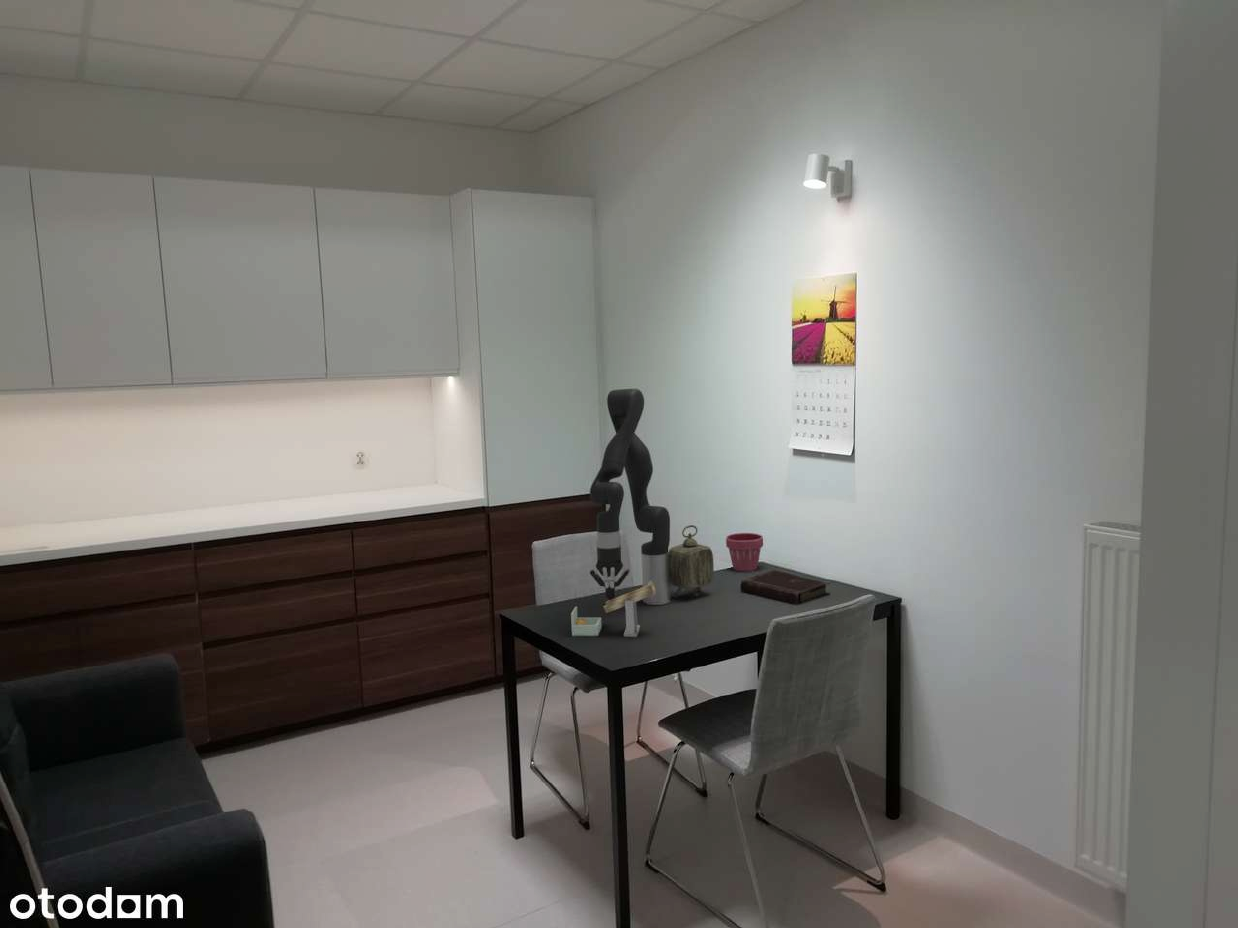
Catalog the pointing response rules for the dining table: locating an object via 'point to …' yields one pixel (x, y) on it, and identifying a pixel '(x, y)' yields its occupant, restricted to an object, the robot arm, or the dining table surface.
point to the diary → (784, 587)
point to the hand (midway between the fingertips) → (610, 598)
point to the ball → (580, 622)
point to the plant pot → (744, 550)
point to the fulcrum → (631, 619)
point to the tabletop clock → (690, 564)
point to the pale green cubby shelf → (589, 629)
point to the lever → (630, 597)
